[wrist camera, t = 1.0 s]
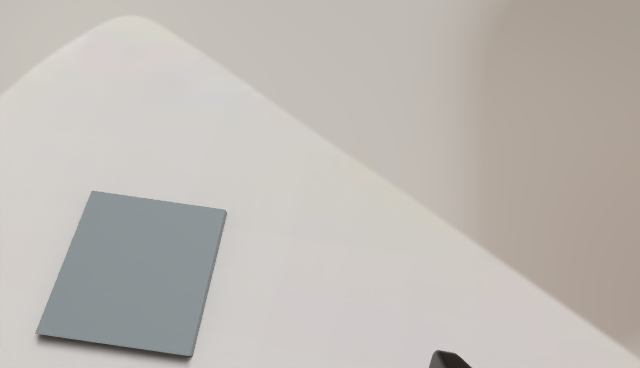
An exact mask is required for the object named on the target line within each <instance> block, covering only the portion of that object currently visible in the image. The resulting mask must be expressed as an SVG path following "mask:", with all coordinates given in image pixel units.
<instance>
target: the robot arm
mask: <svg viewBox="0 0 640 368" xmlns="http://www.w3.org/2000/svg"><path fill="white" fill-rule="evenodd" d="M429 368H472V367H470V366H469V365H468V364H467V363H466V362H465V361H464V360H463V359H462V358H461V357H460V356H458V355H457V354H455V353H452V352H446V351H440V350H437V351H435V352H434V354H433V356H432V359H431V362H430V366H429Z"/></svg>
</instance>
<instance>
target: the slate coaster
mask: <svg viewBox="0 0 640 368" xmlns="http://www.w3.org/2000/svg"><path fill="white" fill-rule="evenodd" d="M226 215H227V212H226V210H222V209H215V208H208V207H202V206H195V205H188V204H181V203H174V202H167V201H160V200H153V199H146V198H139V197H132V196H125V195H118V194H111V193H104V192H97V191H92V192H91V194H90V197H89V199H88V202H87V204H86V207H85V209H84V212H83V215H82V217H81V220H80V222H79V225H78V227H77V230H76V232H75V235H74V237H73V240H72V242H71V245H70V247H69V250H68V252H67V255H66V257H65V260H64V262H63V265H62V267H61V270H60V272H59V275H58V277H57V280H56V283H55V285H54V288H53V290H52V293H51V295H50V298H49V300H48V303H47V305H46V308H45V310H44V313H43V315H42V318H41V320H40V323H39V325H38V328H37V330H36V333H35V334H41V335H48V336H55V337H62V338H69V339H76V340H83V341H89V342H96V343H103V344H110V345H117V346H124V347H131V348H138V349H144V350H151V351H158V352H165V353H172V354H179V355H186V356H193V352H194V348H195V344H196V340H197V335H198V331H199V327H200V323H201V319H202V315H203V311H204V306H205V302H206V298H207V294H208V290H209V286H210V282H211V277H212V273H213V269H214V265H215V261H216V257H217V253H218V248H219V244H220V240H221V236H222V232H223V228H224V224H225V219H226Z"/></svg>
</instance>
